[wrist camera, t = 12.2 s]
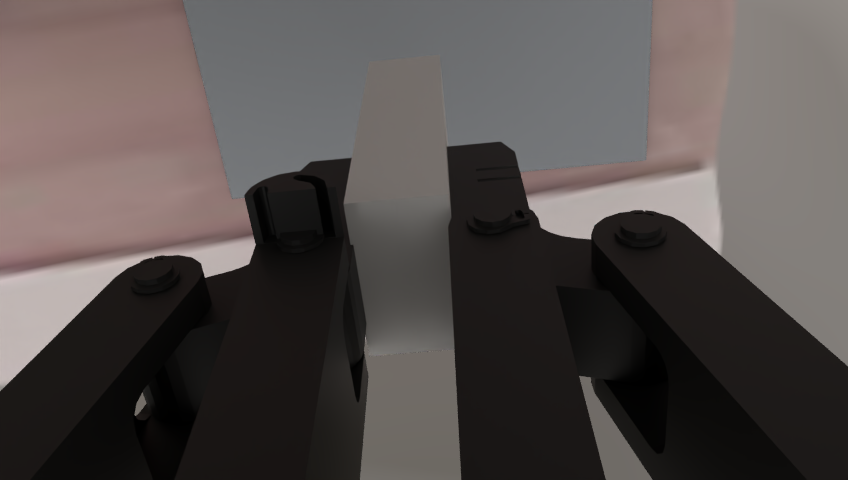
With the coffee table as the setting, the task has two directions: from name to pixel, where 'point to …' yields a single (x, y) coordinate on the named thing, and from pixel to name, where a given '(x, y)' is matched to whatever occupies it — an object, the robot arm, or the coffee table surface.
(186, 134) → the coffee table surface
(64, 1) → the coffee table surface
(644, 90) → the mat
